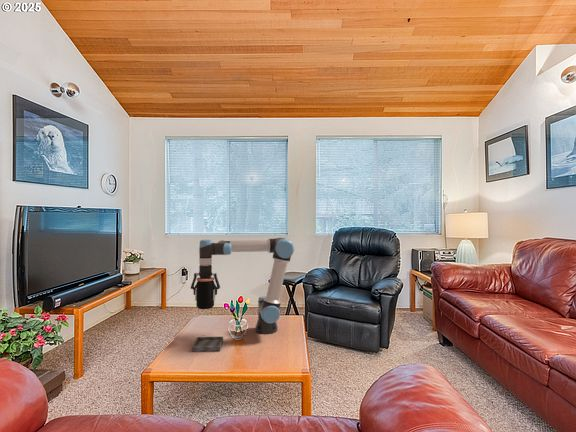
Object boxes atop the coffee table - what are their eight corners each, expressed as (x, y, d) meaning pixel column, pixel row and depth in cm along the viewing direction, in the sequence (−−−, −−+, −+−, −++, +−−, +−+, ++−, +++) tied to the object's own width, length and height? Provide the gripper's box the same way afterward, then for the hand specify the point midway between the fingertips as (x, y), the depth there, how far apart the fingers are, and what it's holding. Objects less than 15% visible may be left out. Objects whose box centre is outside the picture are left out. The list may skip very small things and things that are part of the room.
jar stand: (223, 340, 210) (223, 336, 210) (219, 351, 195) (219, 346, 195) (197, 341, 209) (197, 336, 209) (192, 351, 194) (192, 347, 194)
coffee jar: (216, 305, 213) (216, 276, 213) (210, 310, 203) (210, 280, 203) (200, 304, 215) (200, 276, 215) (193, 309, 204) (193, 279, 204)
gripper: (225, 263, 212) (224, 298, 213) (188, 263, 212) (188, 298, 212) (223, 265, 205) (223, 301, 205) (185, 265, 204) (185, 301, 205)
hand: (205, 300), depth 209 cm, fingers closed on coffee jar, 10 cm apart
